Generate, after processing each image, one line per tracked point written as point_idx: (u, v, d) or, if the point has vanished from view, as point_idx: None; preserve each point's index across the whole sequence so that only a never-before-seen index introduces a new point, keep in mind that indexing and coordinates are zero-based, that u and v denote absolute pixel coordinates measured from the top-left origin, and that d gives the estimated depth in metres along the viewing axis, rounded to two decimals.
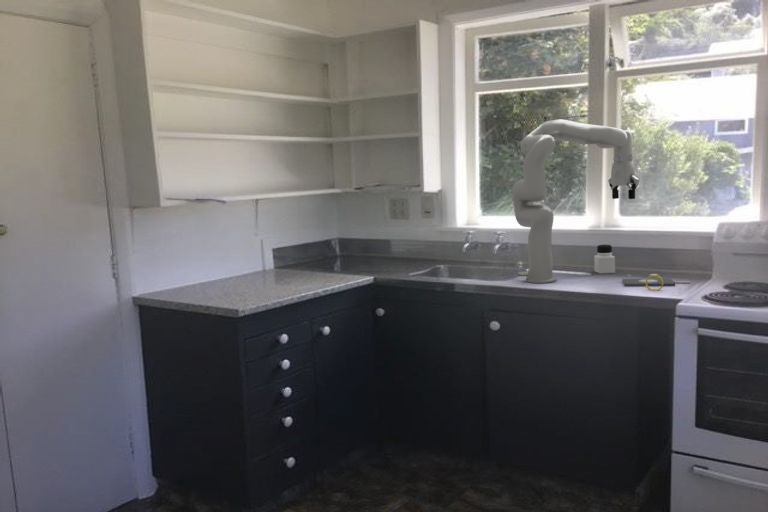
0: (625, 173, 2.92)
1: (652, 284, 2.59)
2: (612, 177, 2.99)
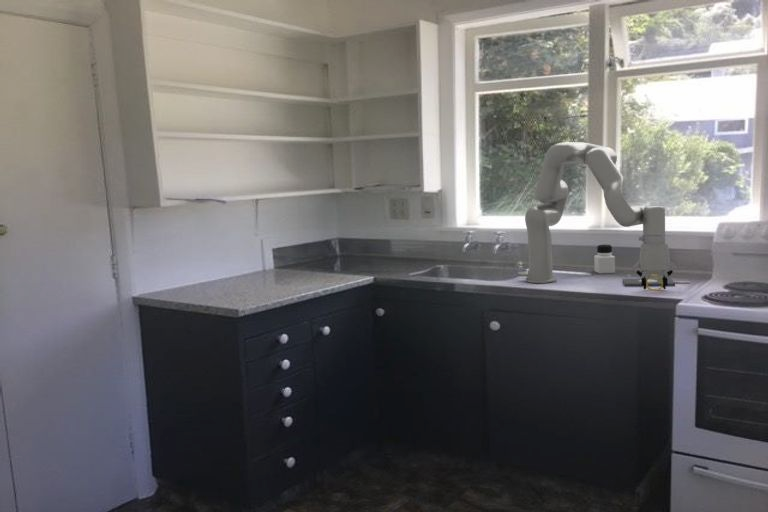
0: (667, 256, 2.46)
1: (652, 284, 2.59)
2: (644, 261, 2.48)
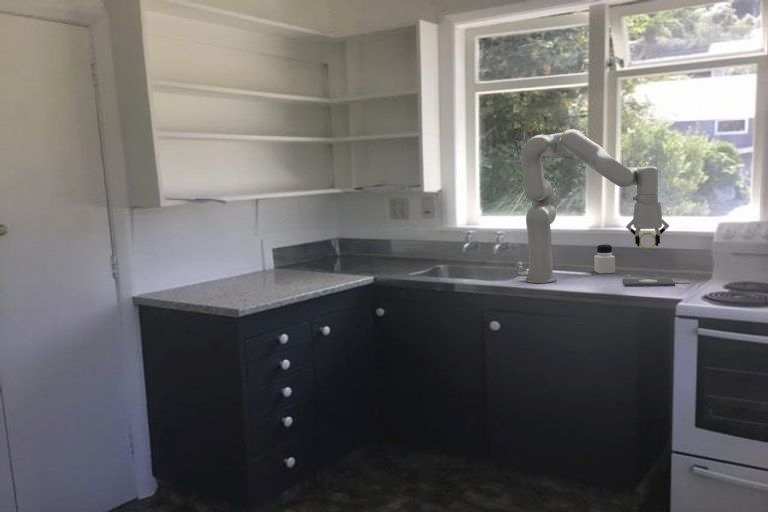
0: (659, 215, 2.58)
1: (652, 284, 2.59)
2: (637, 219, 2.60)
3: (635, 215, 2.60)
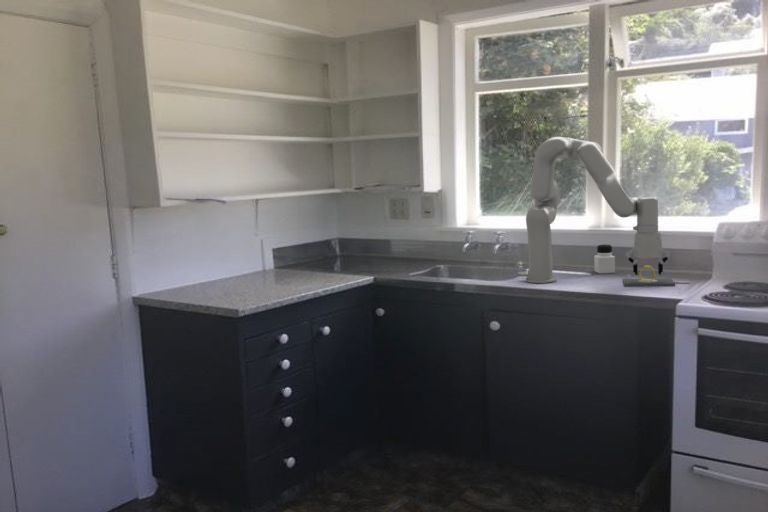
0: (659, 245, 2.59)
1: (652, 284, 2.59)
2: (638, 249, 2.61)
3: (635, 245, 2.62)
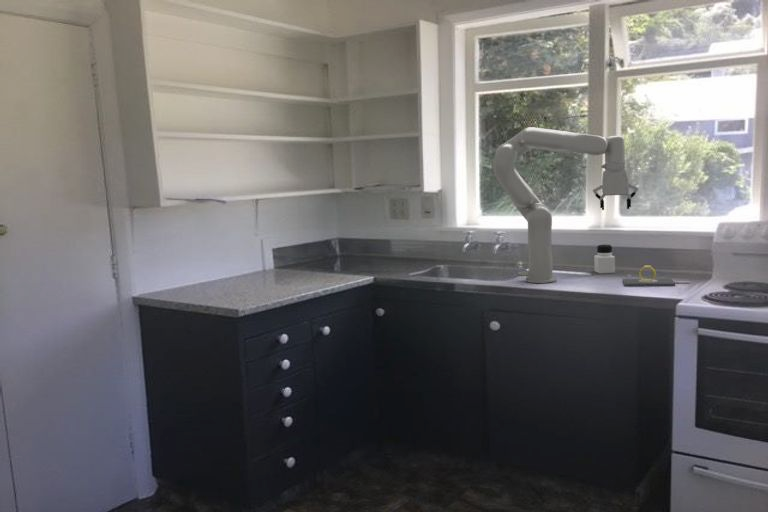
0: (626, 181, 2.72)
1: (652, 284, 2.59)
2: (605, 186, 2.74)
3: (603, 182, 2.74)
